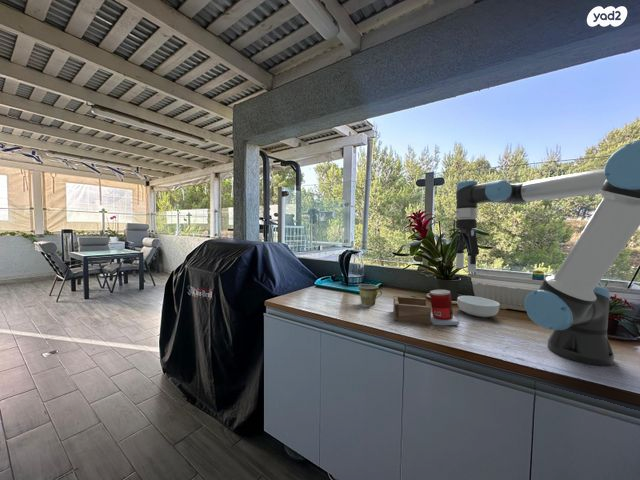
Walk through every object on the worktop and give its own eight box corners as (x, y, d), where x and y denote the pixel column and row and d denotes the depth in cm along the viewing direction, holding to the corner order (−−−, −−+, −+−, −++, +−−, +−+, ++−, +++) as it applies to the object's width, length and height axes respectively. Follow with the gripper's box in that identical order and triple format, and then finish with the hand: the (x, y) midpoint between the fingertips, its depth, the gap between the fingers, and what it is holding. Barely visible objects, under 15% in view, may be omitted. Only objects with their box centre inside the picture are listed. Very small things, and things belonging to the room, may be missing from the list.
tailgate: (459, 324, 104) (458, 321, 104) (432, 325, 106) (432, 322, 106) (451, 315, 115) (451, 312, 115) (427, 316, 117) (427, 313, 117)
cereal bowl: (482, 324, 109) (483, 307, 109) (448, 312, 125) (449, 297, 124) (507, 318, 116) (508, 303, 116) (472, 308, 132) (473, 294, 131)
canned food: (455, 319, 106) (452, 293, 106) (435, 320, 107) (432, 294, 107) (450, 313, 113) (447, 288, 113) (430, 314, 115) (428, 290, 115)
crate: (433, 327, 105) (433, 307, 105) (394, 323, 108) (395, 304, 108) (427, 315, 119) (428, 298, 118) (393, 312, 122) (393, 295, 122)
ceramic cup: (354, 304, 133) (354, 285, 133) (366, 301, 140) (366, 283, 140) (375, 311, 124) (375, 290, 123) (386, 307, 130) (387, 287, 130)
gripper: (447, 220, 120) (447, 266, 120) (467, 217, 95) (466, 274, 96) (465, 220, 118) (464, 266, 119) (490, 216, 94) (489, 275, 94)
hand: (465, 270), depth 107 cm, fingers open, 13 cm apart
